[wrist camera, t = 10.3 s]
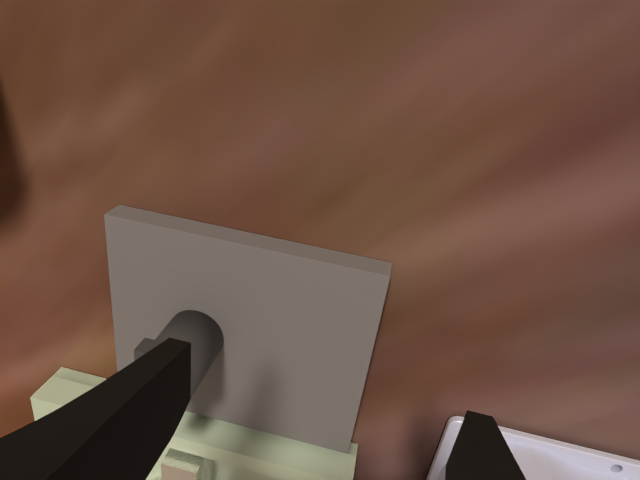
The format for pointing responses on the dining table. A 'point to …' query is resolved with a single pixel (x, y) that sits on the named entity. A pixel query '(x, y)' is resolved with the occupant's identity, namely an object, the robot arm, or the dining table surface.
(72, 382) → the tray
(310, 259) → the base
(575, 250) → the dining table surface
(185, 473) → the ring
